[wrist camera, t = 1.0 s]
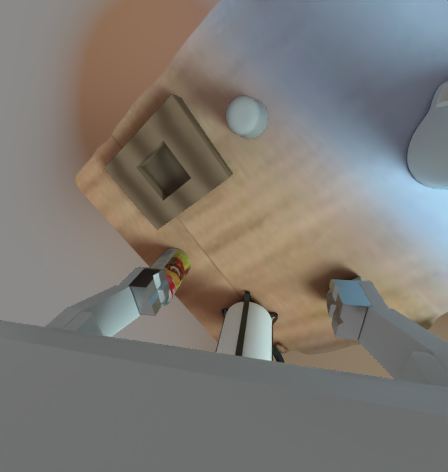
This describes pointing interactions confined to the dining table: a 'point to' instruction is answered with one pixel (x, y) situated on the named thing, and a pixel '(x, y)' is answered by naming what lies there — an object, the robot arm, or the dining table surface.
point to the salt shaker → (246, 117)
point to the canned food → (173, 269)
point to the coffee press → (248, 331)
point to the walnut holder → (168, 164)
